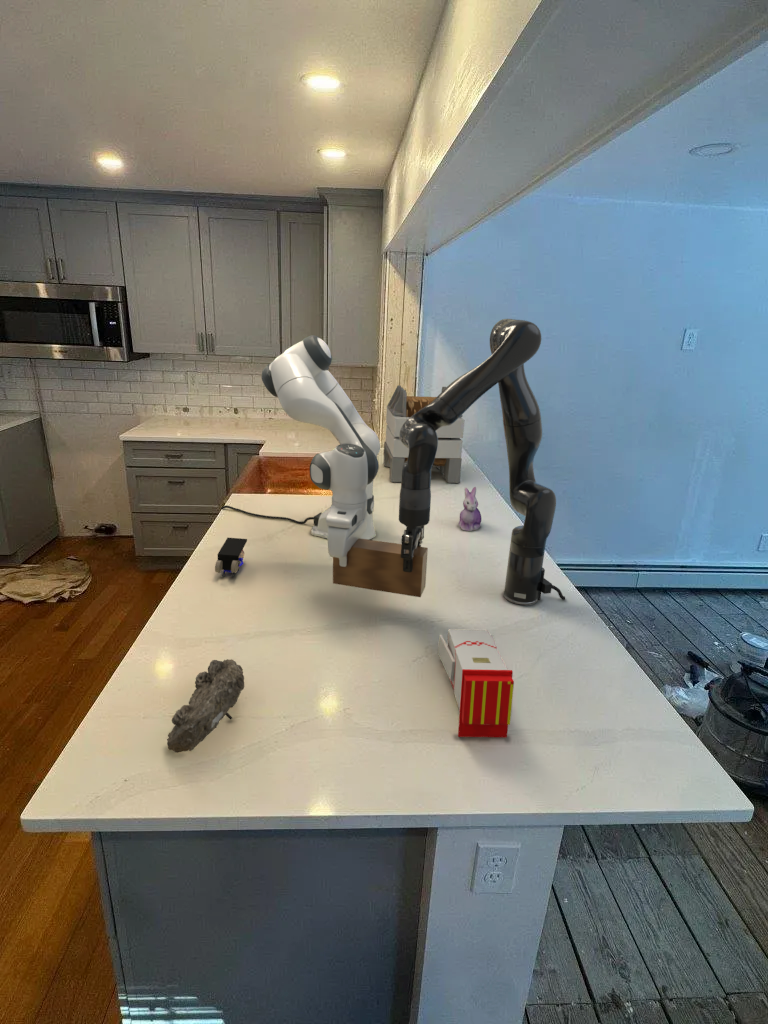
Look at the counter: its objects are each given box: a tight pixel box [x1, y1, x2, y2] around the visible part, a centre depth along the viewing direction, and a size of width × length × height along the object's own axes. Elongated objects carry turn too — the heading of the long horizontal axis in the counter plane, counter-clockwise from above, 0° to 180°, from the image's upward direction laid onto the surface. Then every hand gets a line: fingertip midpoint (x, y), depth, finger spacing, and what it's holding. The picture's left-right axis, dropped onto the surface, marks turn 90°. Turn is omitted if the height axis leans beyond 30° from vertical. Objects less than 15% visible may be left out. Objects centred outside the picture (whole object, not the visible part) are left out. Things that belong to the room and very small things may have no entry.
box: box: [332, 538, 429, 598], centre depth 145 cm, size 23×6×11 cm, turn 75°
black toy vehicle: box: [214, 537, 248, 578], centre depth 166 cm, size 7×8×15 cm
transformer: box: [383, 384, 465, 484], centre depth 268 cm, size 34×33×41 cm
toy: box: [437, 628, 515, 738], centre depth 117 cm, size 12×13×30 cm
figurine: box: [458, 486, 482, 532], centre depth 206 cm, size 9×10×15 cm
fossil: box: [166, 658, 245, 754], centre depth 106 cm, size 22×10×15 cm
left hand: (348, 559), depth 147 cm, fingers closed on box, 6 cm apart
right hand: (411, 564), depth 142 cm, fingers open, 8 cm apart
